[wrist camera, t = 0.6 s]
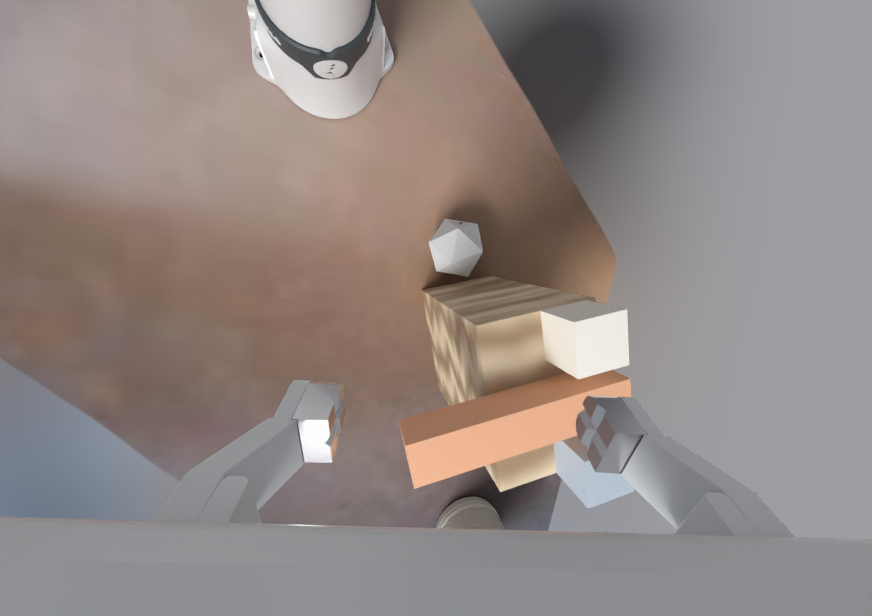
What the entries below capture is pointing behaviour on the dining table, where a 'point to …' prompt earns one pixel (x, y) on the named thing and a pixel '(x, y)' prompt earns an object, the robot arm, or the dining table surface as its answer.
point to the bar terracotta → (500, 424)
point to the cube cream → (585, 337)
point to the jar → (470, 515)
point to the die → (456, 247)
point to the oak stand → (494, 351)
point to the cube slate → (586, 474)
